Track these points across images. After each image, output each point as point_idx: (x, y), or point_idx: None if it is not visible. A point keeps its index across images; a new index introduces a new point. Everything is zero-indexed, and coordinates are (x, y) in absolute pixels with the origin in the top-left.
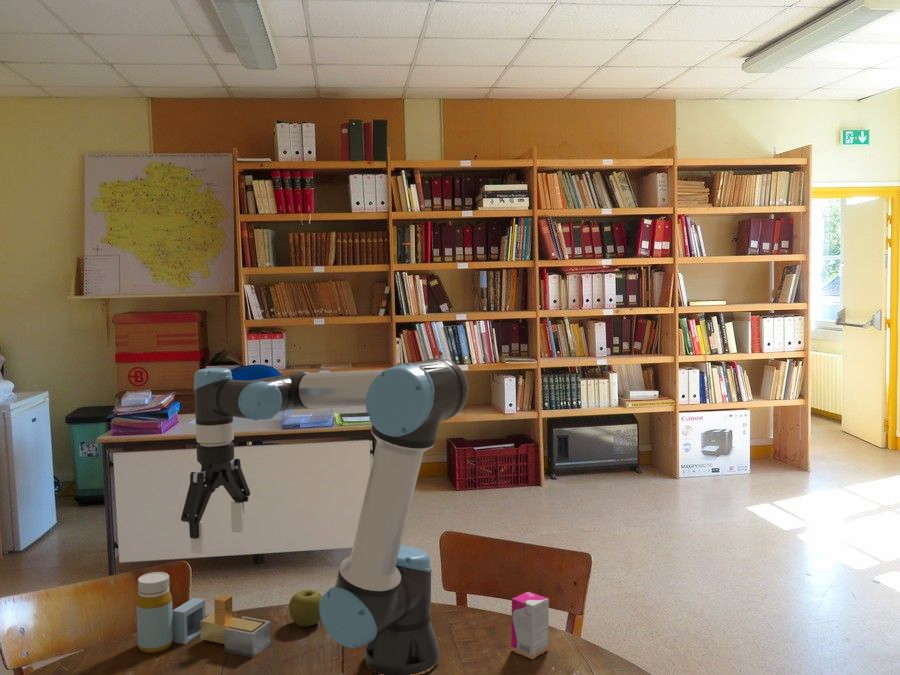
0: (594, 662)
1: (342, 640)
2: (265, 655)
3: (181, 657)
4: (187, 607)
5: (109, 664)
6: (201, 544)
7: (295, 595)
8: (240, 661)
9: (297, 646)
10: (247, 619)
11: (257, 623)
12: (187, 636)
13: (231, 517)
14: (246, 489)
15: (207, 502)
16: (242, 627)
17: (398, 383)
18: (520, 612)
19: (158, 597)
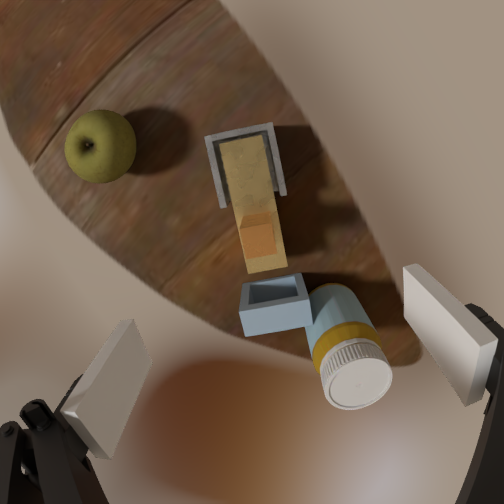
0: None
1: None
2: (250, 114)
3: (337, 240)
4: (287, 312)
5: (399, 313)
6: (437, 282)
7: (104, 162)
8: (292, 136)
9: (191, 91)
10: (223, 189)
11: (227, 152)
12: (285, 285)
13: (134, 402)
14: (4, 455)
15: (489, 455)
16: (260, 165)
17: None
18: None
19: (367, 337)
